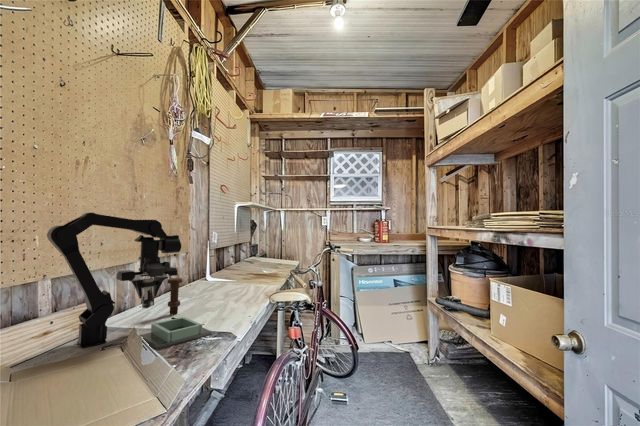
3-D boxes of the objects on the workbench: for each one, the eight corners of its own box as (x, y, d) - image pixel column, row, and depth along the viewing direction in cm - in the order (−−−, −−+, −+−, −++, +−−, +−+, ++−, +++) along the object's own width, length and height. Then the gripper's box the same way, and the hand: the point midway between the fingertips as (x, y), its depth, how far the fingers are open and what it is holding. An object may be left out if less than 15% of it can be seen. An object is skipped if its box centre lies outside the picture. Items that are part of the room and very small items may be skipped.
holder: (168, 342, 95) (168, 332, 95) (150, 332, 104) (151, 323, 104) (202, 333, 104) (202, 324, 104) (183, 325, 112) (184, 316, 113)
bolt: (182, 314, 129) (183, 279, 130) (170, 316, 126) (171, 280, 127) (176, 311, 133) (178, 277, 134) (164, 313, 130) (166, 278, 131)
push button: (150, 309, 106) (150, 280, 106) (134, 310, 105) (134, 281, 106) (158, 304, 112) (158, 277, 113) (143, 305, 112) (143, 278, 112)
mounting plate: (157, 349, 92) (157, 345, 92) (139, 337, 101) (140, 334, 101) (211, 334, 106) (211, 331, 106) (191, 325, 115) (191, 322, 115)
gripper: (128, 257, 98) (126, 306, 97) (185, 254, 112) (183, 296, 111) (117, 254, 105) (114, 300, 104) (171, 252, 119) (170, 292, 118)
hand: (147, 297), depth 109 cm, fingers closed on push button, 4 cm apart
